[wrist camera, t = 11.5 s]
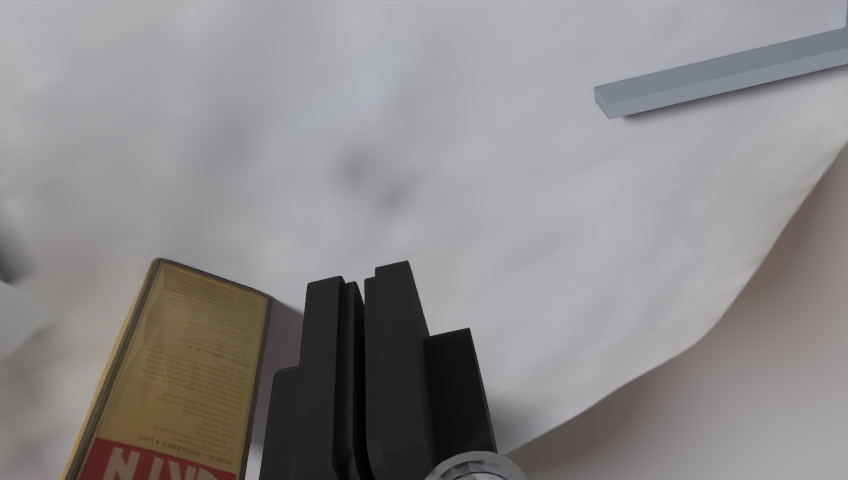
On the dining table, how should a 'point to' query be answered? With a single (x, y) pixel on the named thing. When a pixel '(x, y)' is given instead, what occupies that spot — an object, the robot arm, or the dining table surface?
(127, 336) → the food packaging
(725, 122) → the dining table surface
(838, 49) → the tray frame
